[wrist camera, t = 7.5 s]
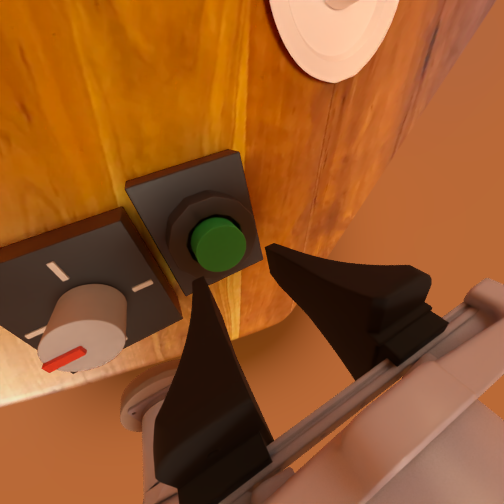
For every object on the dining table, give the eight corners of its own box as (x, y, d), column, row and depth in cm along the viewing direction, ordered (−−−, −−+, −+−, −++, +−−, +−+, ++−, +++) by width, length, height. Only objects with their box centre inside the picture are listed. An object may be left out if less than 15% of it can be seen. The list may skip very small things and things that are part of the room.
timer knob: (106, 273, 14) (98, 312, 11) (137, 310, 17) (138, 350, 14) (39, 302, 13) (11, 352, 10) (82, 337, 16) (70, 386, 13)
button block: (253, 249, 23) (272, 269, 20) (181, 282, 21) (190, 310, 18) (229, 148, 17) (250, 153, 14) (125, 181, 15) (122, 196, 12)
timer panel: (177, 297, 21) (183, 320, 19) (80, 344, 19) (72, 376, 17) (122, 206, 15) (120, 221, 13) (-27, 257, 13) (-64, 287, 11)
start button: (241, 249, 17) (251, 259, 16) (200, 267, 17) (206, 280, 15) (230, 209, 15) (239, 217, 14) (182, 228, 14) (187, 238, 13)
